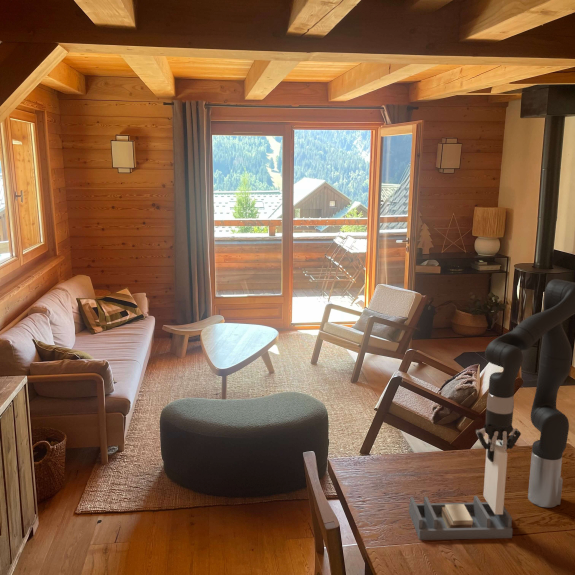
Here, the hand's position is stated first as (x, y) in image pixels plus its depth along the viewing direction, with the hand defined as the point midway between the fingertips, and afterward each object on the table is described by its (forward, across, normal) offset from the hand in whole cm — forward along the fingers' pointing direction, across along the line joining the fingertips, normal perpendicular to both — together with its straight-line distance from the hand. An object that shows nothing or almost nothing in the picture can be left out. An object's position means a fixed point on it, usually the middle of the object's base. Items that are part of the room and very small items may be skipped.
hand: (495, 460), depth 175 cm
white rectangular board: (+15, 0, 0) cm, 15 cm away
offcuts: (+22, +11, 0) cm, 24 cm away
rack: (+23, +10, 0) cm, 25 cm away
